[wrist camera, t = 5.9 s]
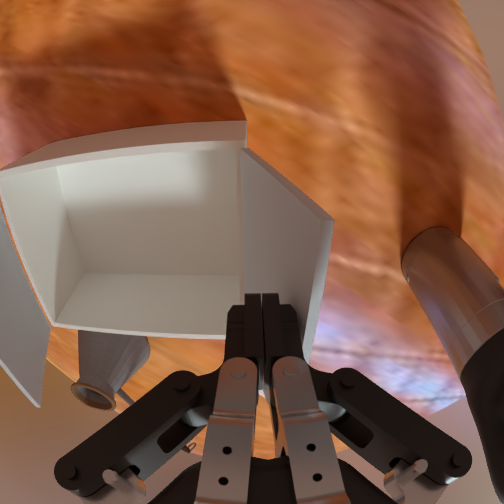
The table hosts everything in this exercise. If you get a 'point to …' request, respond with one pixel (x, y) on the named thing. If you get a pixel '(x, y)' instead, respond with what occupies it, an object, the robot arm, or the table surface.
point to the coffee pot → (108, 367)
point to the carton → (133, 228)
